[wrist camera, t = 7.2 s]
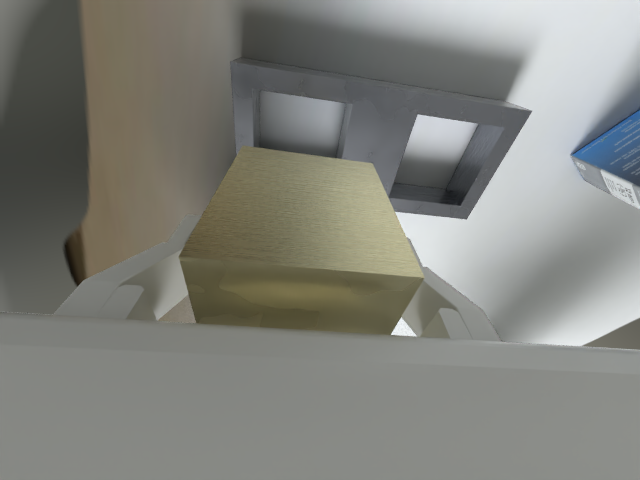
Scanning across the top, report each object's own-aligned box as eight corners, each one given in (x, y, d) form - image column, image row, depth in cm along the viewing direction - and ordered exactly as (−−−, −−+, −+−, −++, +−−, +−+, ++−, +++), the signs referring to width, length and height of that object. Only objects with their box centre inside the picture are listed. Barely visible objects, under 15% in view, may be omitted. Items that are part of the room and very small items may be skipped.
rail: (506, 101, 20) (532, 111, 18) (452, 202, 25) (466, 219, 23) (240, 57, 18) (230, 61, 15) (246, 178, 23) (238, 194, 21)
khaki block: (372, 163, 10) (424, 277, 5) (345, 255, 13) (364, 377, 9) (242, 145, 10) (178, 256, 5) (246, 246, 13) (209, 372, 8)
